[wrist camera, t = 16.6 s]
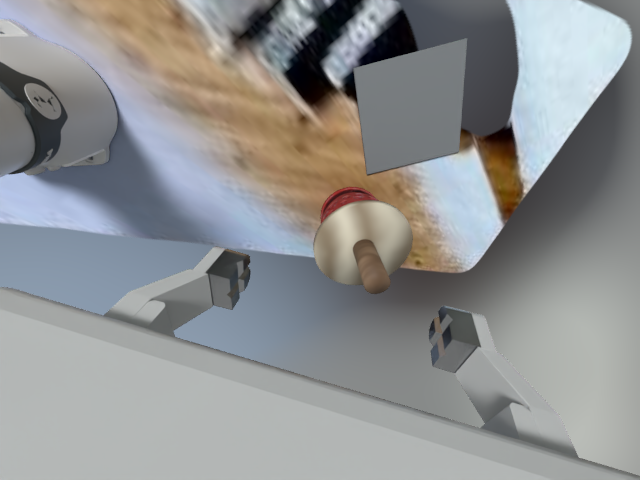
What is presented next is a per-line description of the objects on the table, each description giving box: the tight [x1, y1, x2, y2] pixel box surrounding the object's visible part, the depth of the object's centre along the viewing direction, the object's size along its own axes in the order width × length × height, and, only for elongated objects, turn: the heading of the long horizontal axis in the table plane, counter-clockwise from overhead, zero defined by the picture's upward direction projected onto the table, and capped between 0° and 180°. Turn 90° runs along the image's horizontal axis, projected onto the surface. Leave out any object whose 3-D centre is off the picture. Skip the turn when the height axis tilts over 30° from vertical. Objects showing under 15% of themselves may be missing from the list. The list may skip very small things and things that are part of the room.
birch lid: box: [314, 200, 413, 294], centre depth 41 cm, size 16×16×10 cm
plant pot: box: [321, 187, 379, 223], centre depth 50 cm, size 13×13×12 cm
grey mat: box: [353, 38, 467, 174], centre depth 45 cm, size 17×17×1 cm
